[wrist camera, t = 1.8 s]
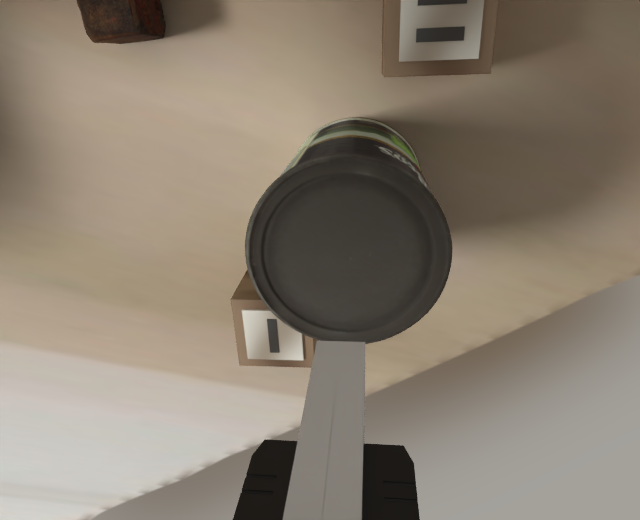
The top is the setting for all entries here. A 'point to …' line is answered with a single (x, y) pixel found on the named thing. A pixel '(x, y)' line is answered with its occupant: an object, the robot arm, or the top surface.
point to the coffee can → (349, 237)
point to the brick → (122, 20)
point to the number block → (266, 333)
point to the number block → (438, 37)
